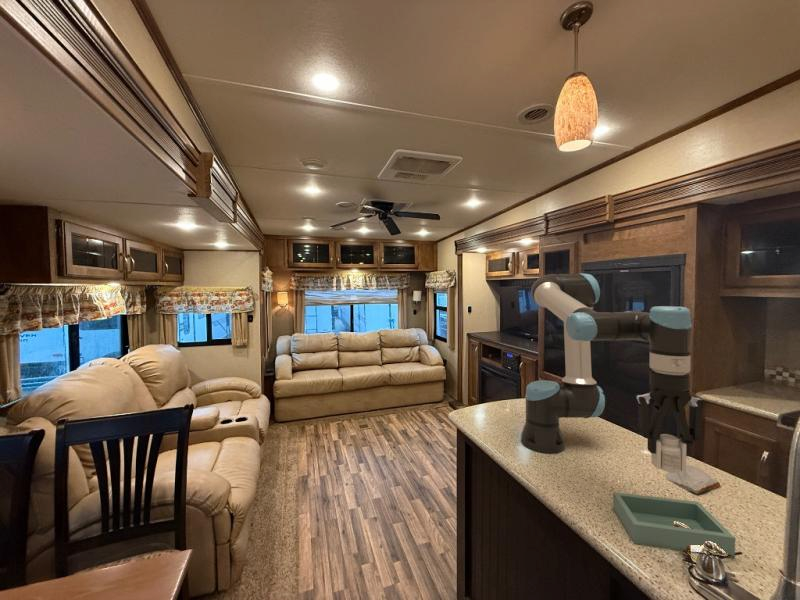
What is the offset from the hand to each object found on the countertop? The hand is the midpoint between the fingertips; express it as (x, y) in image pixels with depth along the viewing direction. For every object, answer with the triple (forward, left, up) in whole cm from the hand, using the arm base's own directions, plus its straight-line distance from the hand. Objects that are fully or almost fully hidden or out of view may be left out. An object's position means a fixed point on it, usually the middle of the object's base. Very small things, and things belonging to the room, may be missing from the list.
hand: (668, 466), depth 78 cm
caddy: (0, 0, -16) cm, 16 cm away
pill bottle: (0, 0, 0) cm, 1 cm away
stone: (-24, +17, -16) cm, 34 cm away
